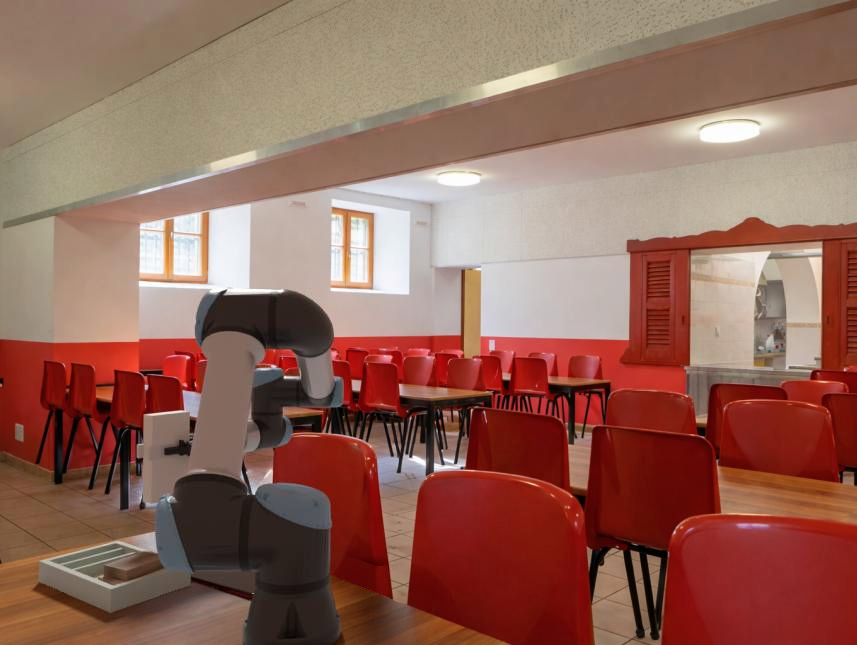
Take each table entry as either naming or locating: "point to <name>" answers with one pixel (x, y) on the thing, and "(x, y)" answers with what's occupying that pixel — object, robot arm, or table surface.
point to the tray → (84, 567)
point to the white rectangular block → (165, 470)
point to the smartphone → (228, 581)
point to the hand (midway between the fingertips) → (143, 452)
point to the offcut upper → (133, 566)
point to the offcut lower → (115, 581)
